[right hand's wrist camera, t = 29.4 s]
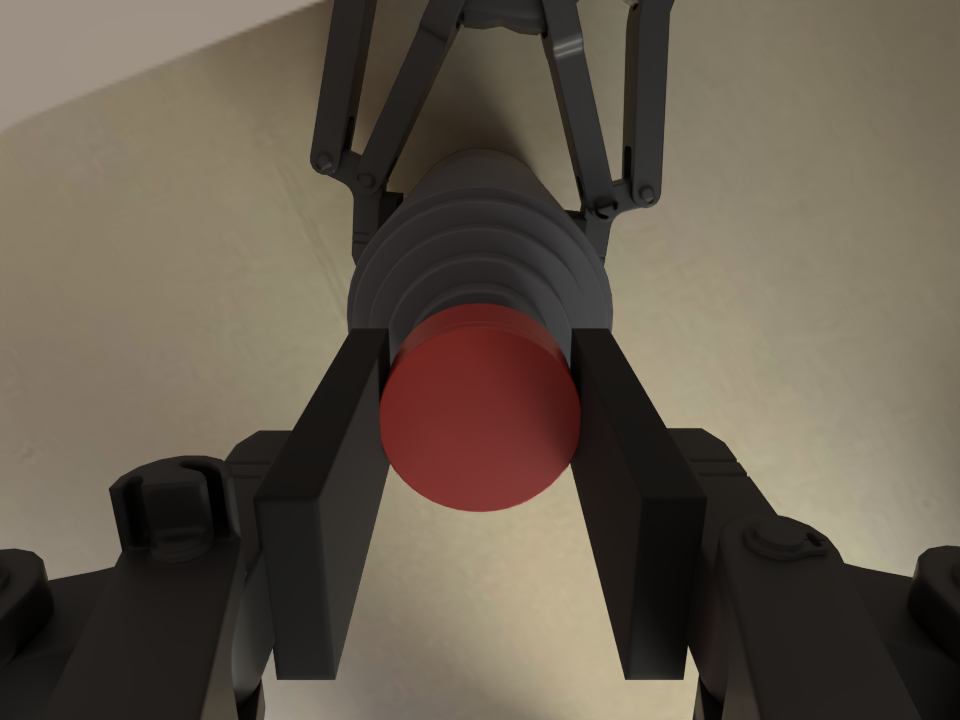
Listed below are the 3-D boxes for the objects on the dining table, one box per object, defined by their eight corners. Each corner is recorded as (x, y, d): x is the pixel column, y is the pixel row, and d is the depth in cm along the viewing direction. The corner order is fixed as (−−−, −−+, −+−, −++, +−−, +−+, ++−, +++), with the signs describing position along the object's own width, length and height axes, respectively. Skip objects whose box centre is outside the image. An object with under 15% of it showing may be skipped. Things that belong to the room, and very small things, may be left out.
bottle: (485, 116, 35) (495, 129, 12) (577, 225, 36) (742, 421, 14) (382, 215, 36) (214, 395, 13) (475, 314, 38) (467, 621, 15)
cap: (476, 262, 13) (475, 282, 12) (609, 387, 14) (624, 420, 13) (350, 393, 14) (335, 427, 13) (483, 502, 15) (482, 546, 14)
